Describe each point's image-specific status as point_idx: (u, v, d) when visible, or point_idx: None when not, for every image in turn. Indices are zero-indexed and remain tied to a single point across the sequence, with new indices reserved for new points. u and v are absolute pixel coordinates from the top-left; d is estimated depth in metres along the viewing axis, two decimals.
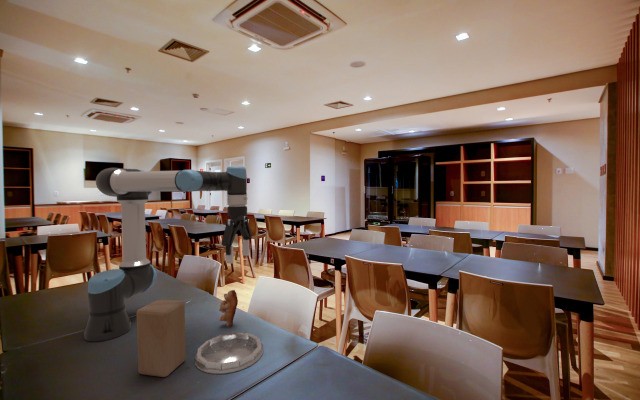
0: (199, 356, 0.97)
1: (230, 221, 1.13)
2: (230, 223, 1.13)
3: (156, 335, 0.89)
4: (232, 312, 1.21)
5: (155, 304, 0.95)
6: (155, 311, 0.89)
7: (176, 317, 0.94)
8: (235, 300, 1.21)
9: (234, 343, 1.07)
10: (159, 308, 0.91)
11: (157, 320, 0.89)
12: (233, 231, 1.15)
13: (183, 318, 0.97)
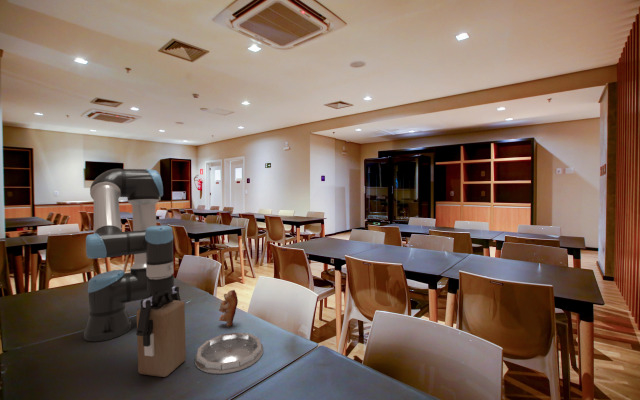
0: (199, 356, 0.97)
1: (145, 303, 0.87)
2: (146, 306, 0.87)
3: (156, 335, 0.89)
4: (232, 312, 1.21)
5: None
6: (155, 311, 0.89)
7: (176, 317, 0.94)
8: (235, 300, 1.21)
9: (234, 343, 1.07)
10: (159, 308, 0.91)
11: (157, 320, 0.89)
12: None
13: (183, 318, 0.97)
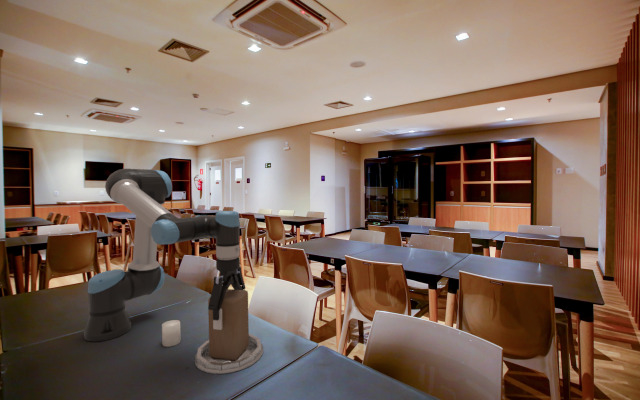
0: (199, 356, 0.97)
1: (219, 279, 0.94)
2: (219, 282, 0.94)
3: (227, 321, 0.96)
4: None
5: None
6: (226, 299, 0.97)
7: (243, 305, 1.01)
8: None
9: None
10: (229, 296, 0.99)
11: (228, 307, 0.96)
12: (222, 290, 0.97)
13: (247, 306, 1.04)
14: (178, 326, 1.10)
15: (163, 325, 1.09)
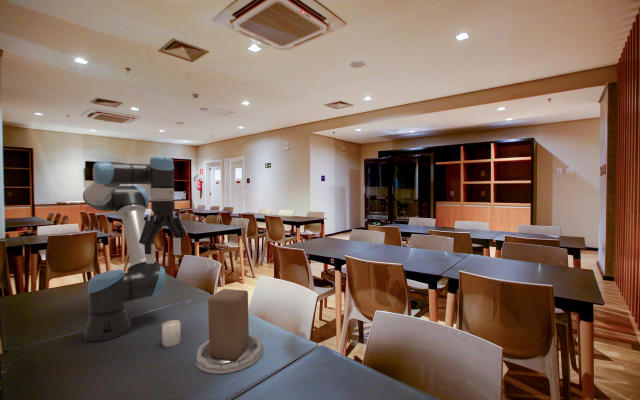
0: (199, 356, 0.97)
1: (150, 217, 1.02)
2: (150, 219, 1.02)
3: (227, 321, 0.96)
4: None
5: (223, 293, 1.02)
6: (226, 299, 0.97)
7: (243, 305, 1.01)
8: None
9: None
10: (229, 296, 0.99)
11: (228, 307, 0.96)
12: (155, 228, 1.05)
13: (247, 306, 1.04)
14: (178, 326, 1.10)
15: (163, 325, 1.09)
